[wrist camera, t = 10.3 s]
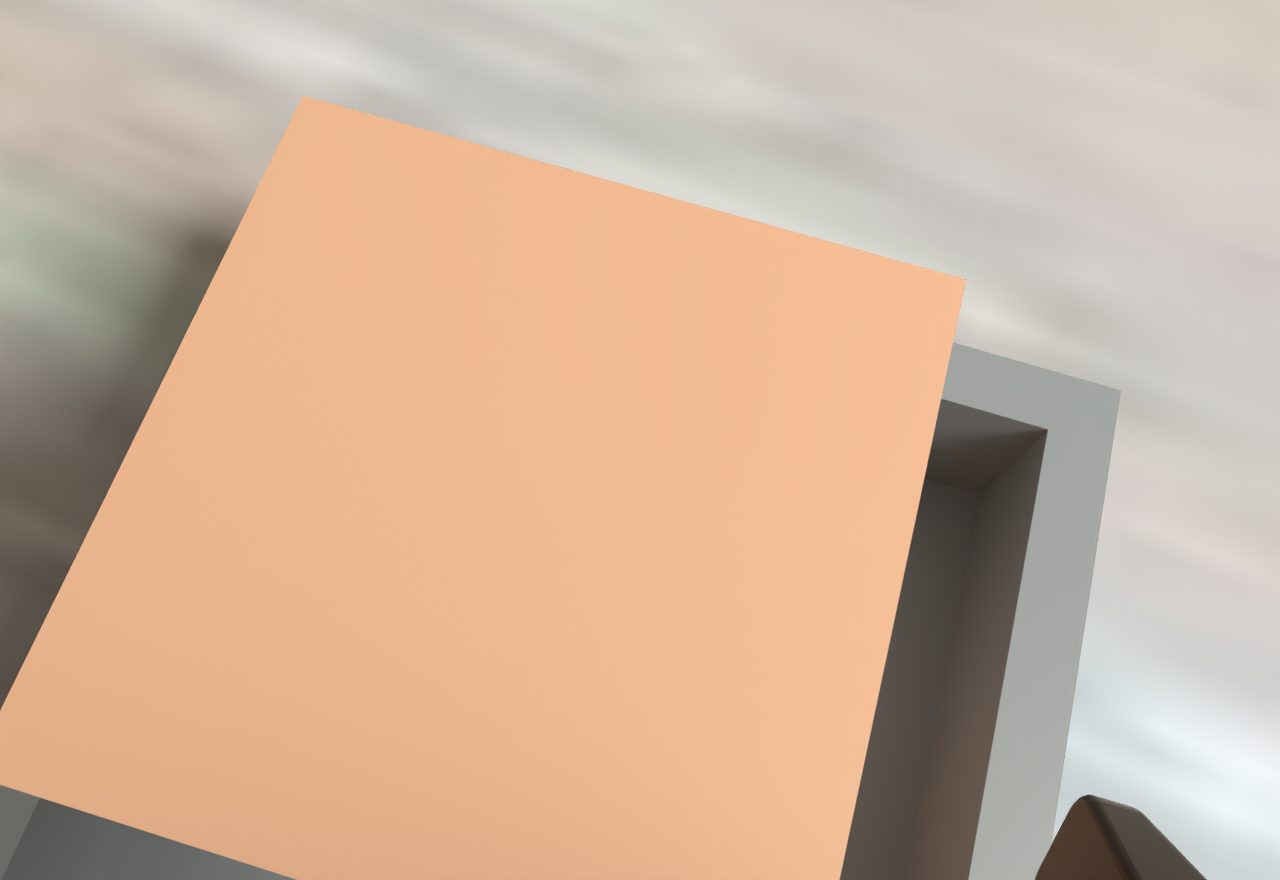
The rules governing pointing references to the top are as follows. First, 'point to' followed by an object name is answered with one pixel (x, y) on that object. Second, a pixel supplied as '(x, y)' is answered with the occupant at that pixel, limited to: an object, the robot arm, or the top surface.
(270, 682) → the peach block
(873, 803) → the tray
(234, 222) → the top surface
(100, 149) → the top surface
